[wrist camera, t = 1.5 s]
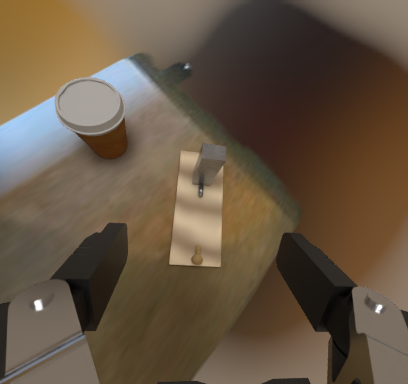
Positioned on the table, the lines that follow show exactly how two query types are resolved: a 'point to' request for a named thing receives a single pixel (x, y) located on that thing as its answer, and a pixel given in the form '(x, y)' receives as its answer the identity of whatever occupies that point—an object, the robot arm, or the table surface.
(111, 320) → the table surface
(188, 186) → the rail
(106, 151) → the disposable coffee cup
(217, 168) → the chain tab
